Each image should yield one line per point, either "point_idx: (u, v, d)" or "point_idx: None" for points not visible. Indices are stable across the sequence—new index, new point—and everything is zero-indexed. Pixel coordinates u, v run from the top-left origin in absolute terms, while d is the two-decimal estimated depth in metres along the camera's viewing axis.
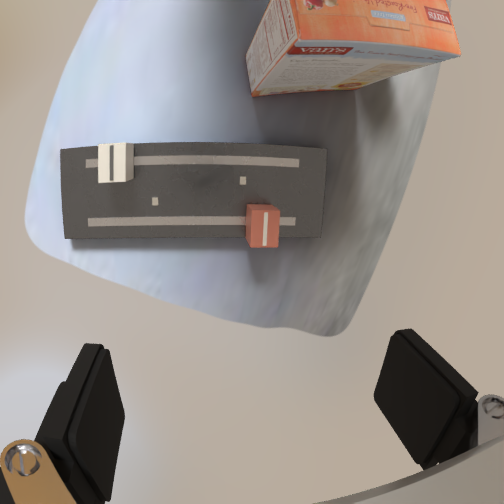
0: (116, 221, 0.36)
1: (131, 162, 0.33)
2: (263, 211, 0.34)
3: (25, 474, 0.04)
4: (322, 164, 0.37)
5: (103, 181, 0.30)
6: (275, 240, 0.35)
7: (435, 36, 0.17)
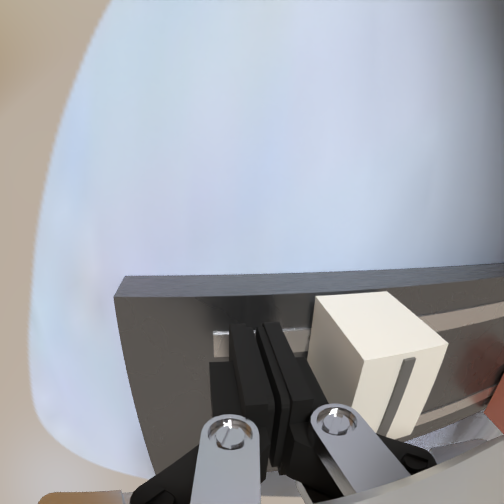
0: None
1: None
2: None
3: (223, 446, 0.06)
4: None
5: None
6: None
7: None
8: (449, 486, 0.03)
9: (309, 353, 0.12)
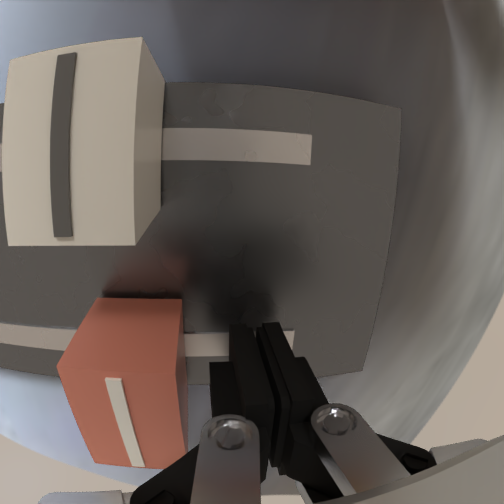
0: None
1: (156, 147, 0.08)
2: (102, 374, 0.07)
3: (223, 446, 0.06)
4: (387, 157, 0.11)
5: (27, 240, 0.05)
6: (175, 455, 0.08)
7: None
8: (449, 486, 0.03)
9: None
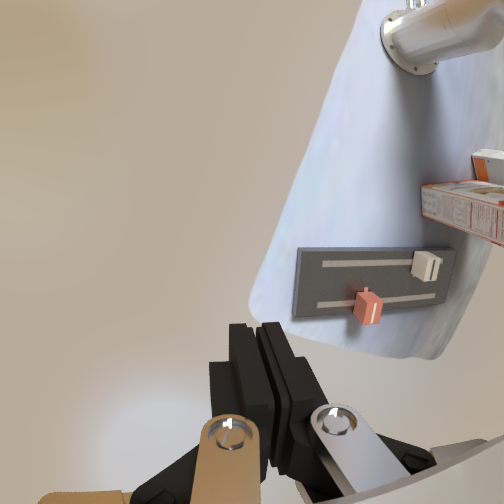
0: (338, 303, 0.52)
1: None
2: (374, 302, 0.48)
3: (222, 446, 0.06)
4: (452, 260, 0.53)
5: (426, 280, 0.48)
6: (378, 319, 0.49)
7: None
8: (449, 486, 0.03)
9: (412, 264, 0.51)
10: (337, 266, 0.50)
